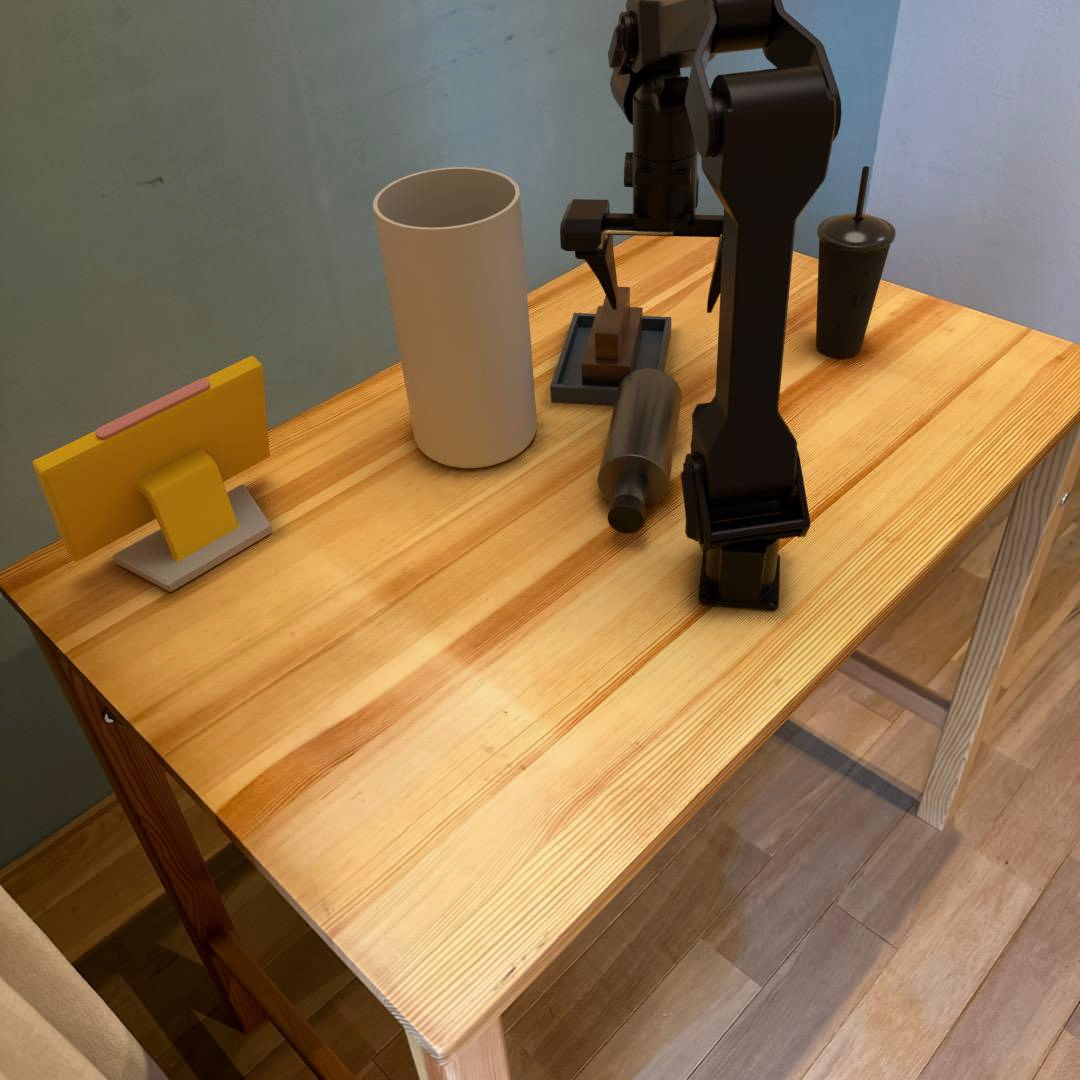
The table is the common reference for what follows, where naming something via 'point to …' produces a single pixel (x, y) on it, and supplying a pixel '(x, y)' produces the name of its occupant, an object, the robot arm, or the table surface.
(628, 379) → the bottle
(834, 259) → the drinking cup
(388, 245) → the cylinder vase
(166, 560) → the yellow framed monitor
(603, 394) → the tray
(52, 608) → the table surface
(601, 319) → the scrub brush
